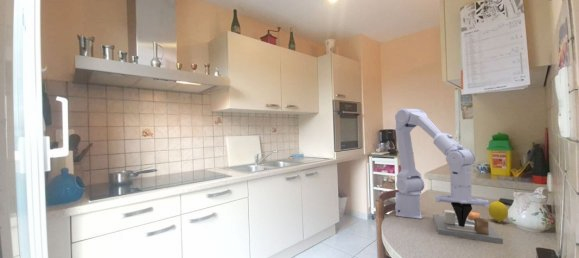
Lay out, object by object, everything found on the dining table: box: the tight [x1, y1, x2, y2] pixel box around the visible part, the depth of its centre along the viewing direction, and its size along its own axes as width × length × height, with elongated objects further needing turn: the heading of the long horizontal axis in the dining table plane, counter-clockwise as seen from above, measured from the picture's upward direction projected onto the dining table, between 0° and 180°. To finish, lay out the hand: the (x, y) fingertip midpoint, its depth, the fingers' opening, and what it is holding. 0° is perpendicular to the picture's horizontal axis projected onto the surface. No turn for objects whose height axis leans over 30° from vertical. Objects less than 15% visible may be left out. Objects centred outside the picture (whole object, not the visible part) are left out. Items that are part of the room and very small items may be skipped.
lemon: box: [488, 200, 509, 223], centre depth 92 cm, size 6×6×8 cm
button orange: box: [468, 211, 481, 220], centre depth 88 cm, size 4×4×2 cm
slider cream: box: [443, 209, 456, 225], centre depth 87 cm, size 3×3×4 cm
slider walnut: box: [474, 217, 489, 235], centre depth 79 cm, size 3×3×4 cm
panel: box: [432, 214, 504, 244], centre depth 85 cm, size 17×16×2 cm
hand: (461, 225), depth 81 cm, fingers closed
